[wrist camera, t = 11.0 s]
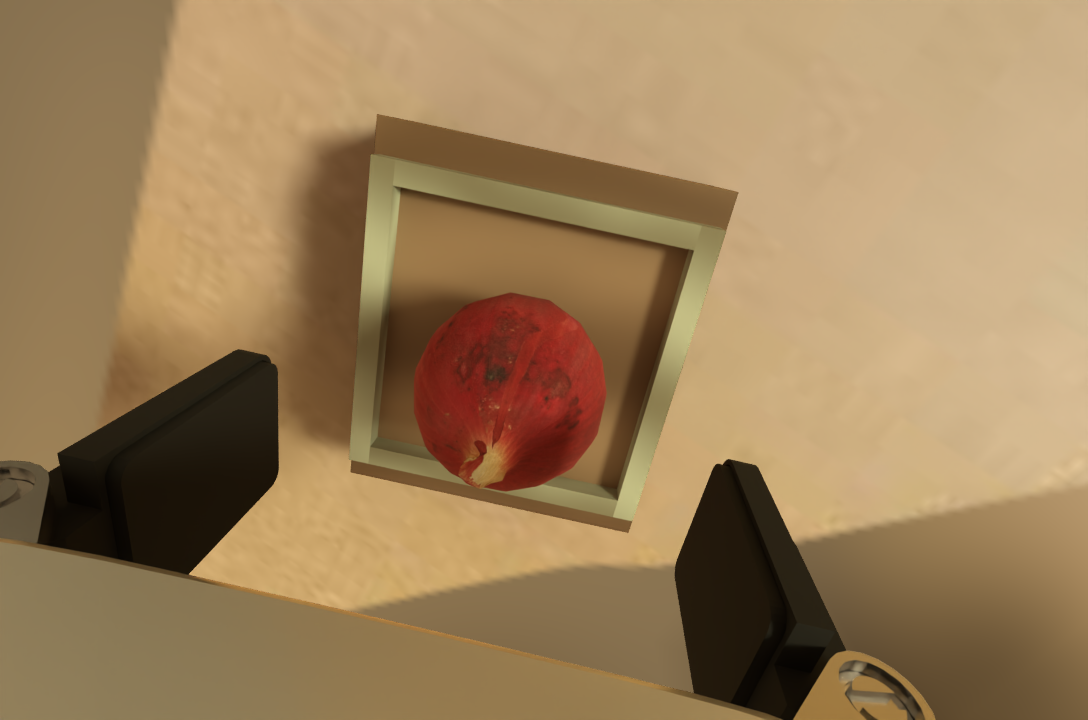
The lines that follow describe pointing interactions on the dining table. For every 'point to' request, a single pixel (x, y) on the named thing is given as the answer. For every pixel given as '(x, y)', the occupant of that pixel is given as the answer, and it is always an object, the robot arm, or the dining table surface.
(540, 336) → the onion
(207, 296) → the dining table surface
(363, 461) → the plinth
